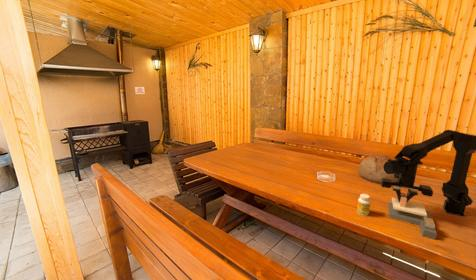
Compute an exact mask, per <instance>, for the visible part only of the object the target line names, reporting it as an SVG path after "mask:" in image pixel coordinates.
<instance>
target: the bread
mask: <svg viewBox="0 0 476 280" xmlns="http://www.w3.org/2000/svg"><path fill="white" fill-rule="evenodd" d="M388 159H392V158H391V157H390V156H387V155H383V154H382V155H379V154H372V155H370V156H368V157H366V158H364V159H363V160H361V161H360V163H359V165H358V174H359V175H360V177H362V178H363V179H365V180H366V181H369V182H371V183H375V184H379V185H381V180H382V178H387V179H391V180H392V182H396V183H398V181H397V180H398V178H394V174H387V173H386V172H385V171H384V168H383V165H384V164H385V162H388Z"/></svg>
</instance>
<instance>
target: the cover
mask: <svg viewBox="0 0 476 280" xmlns="http://www.w3.org/2000/svg"><path fill="white" fill-rule="evenodd" d="M406 195H407V193H405V192H401V196H400V202H399V201H398V197H397V198H396V197H391V203H392V204H393V209H396V210H401V211H405V212H409V213H413V214H417V215H422V216H426V217H427V213H426V211H427V210H426V209H425V205H424V203H421V202H417V201H416V202H414V201H411V200H409V201H408V202H407V203H406V201H407V198H406Z"/></svg>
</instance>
